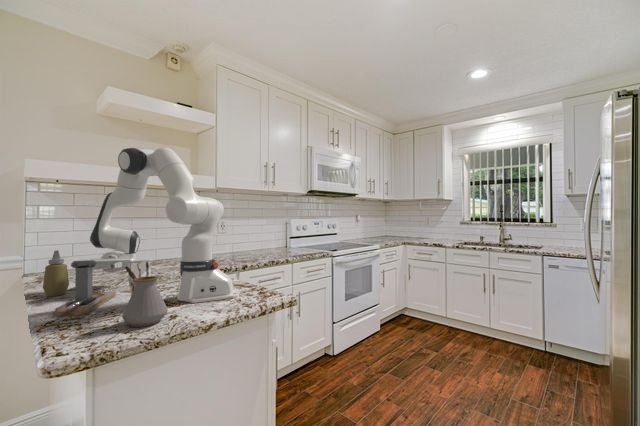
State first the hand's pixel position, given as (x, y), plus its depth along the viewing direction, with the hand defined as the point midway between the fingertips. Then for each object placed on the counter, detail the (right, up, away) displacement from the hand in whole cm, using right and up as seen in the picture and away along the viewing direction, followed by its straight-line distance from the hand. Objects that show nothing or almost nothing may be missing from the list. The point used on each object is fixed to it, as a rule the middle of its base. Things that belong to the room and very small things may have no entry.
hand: (98, 266), depth 114 cm
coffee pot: (+30, -12, -24) cm, 40 cm away
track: (+3, -12, -9) cm, 15 cm away
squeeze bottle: (-22, -13, +7) cm, 27 cm away
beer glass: (+20, -12, -7) cm, 25 cm away
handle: (+5, -10, -15) cm, 19 cm away
